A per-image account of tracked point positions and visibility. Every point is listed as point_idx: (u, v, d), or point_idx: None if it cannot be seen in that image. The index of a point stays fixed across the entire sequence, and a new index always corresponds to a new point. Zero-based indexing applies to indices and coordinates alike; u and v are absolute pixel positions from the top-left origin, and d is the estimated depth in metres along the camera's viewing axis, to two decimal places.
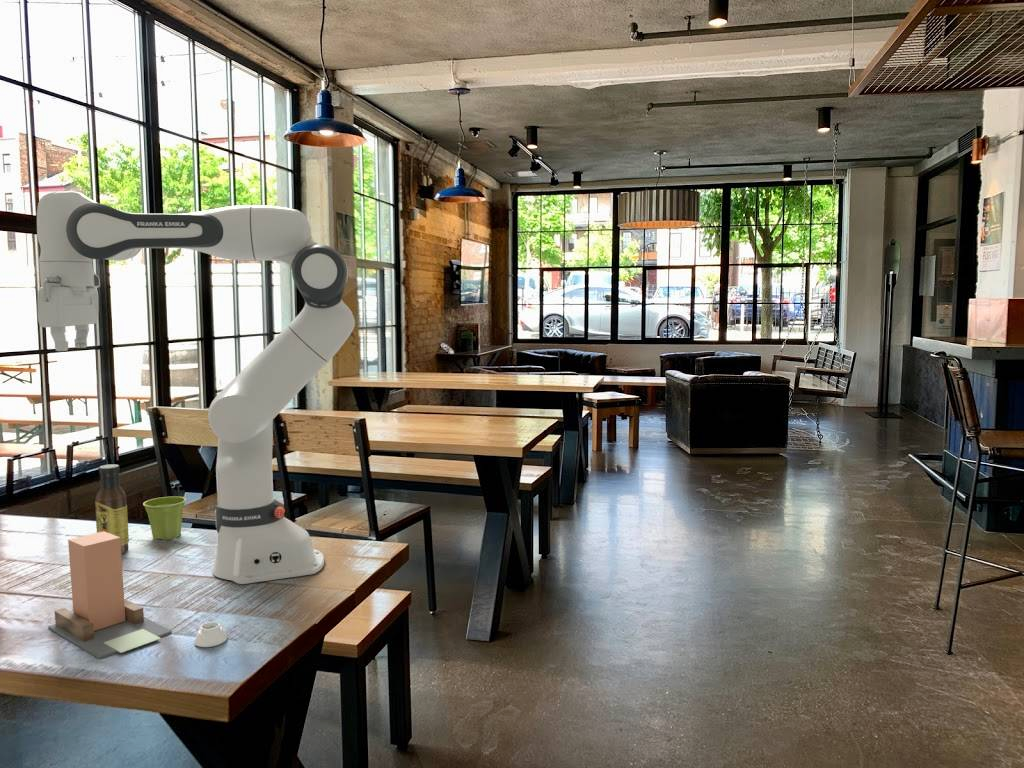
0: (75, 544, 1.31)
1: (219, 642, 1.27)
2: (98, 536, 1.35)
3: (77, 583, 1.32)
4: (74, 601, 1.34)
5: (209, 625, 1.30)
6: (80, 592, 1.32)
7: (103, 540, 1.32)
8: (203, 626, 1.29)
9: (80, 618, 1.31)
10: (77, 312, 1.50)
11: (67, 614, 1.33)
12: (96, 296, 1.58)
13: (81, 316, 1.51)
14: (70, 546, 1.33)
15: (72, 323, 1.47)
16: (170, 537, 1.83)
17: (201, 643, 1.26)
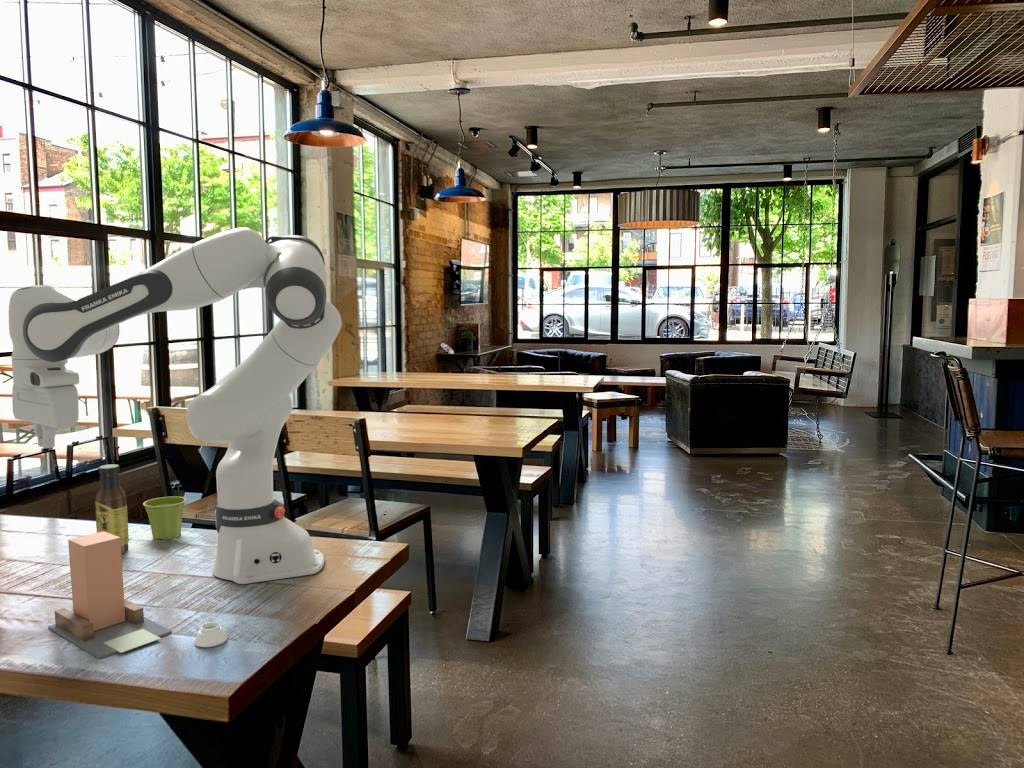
0: (75, 544, 1.31)
1: (219, 642, 1.27)
2: (98, 536, 1.35)
3: (77, 583, 1.32)
4: (74, 601, 1.34)
5: (209, 625, 1.30)
6: (80, 592, 1.32)
7: (103, 540, 1.32)
8: (203, 626, 1.29)
9: (80, 618, 1.31)
10: (31, 410, 1.43)
11: (67, 614, 1.33)
12: (47, 397, 1.37)
13: (35, 415, 1.42)
14: (70, 546, 1.33)
15: (26, 420, 1.45)
16: (170, 537, 1.83)
17: (201, 643, 1.26)
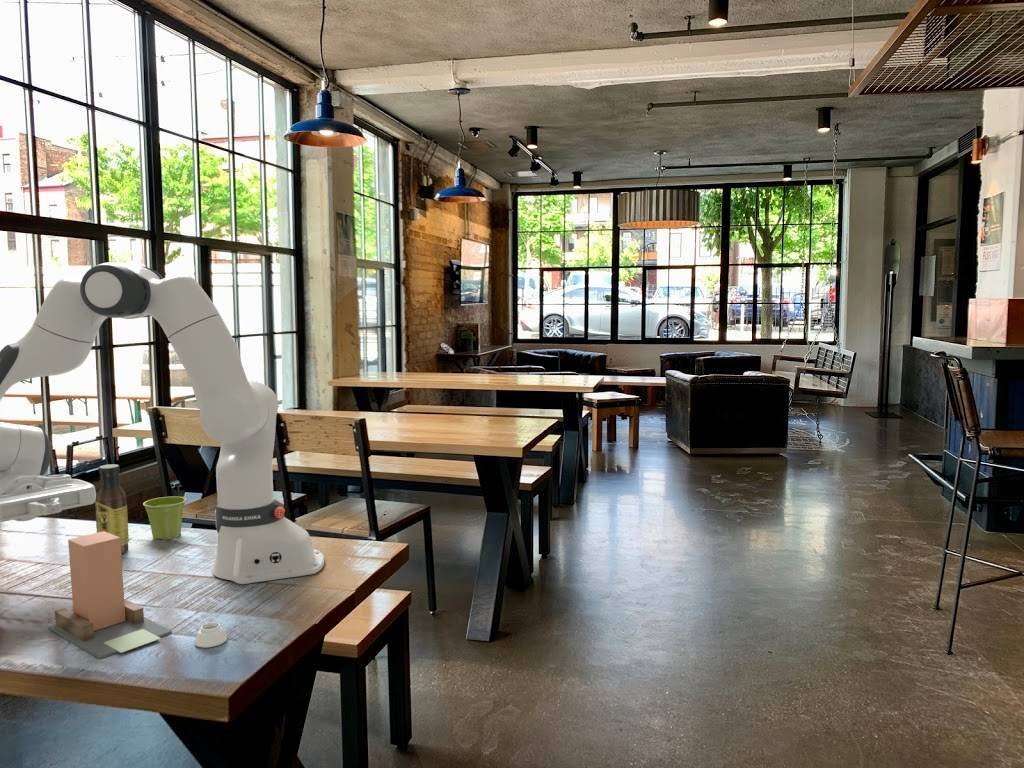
0: (75, 544, 1.31)
1: (219, 642, 1.27)
2: (98, 536, 1.35)
3: (77, 583, 1.32)
4: (74, 601, 1.34)
5: (209, 625, 1.29)
6: (80, 592, 1.32)
7: (103, 540, 1.32)
8: (203, 626, 1.29)
9: (80, 618, 1.31)
10: (31, 494, 1.47)
11: (67, 614, 1.33)
12: (74, 480, 1.55)
13: (42, 493, 1.47)
14: (70, 546, 1.33)
15: (20, 499, 1.43)
16: (170, 537, 1.83)
17: (201, 643, 1.26)
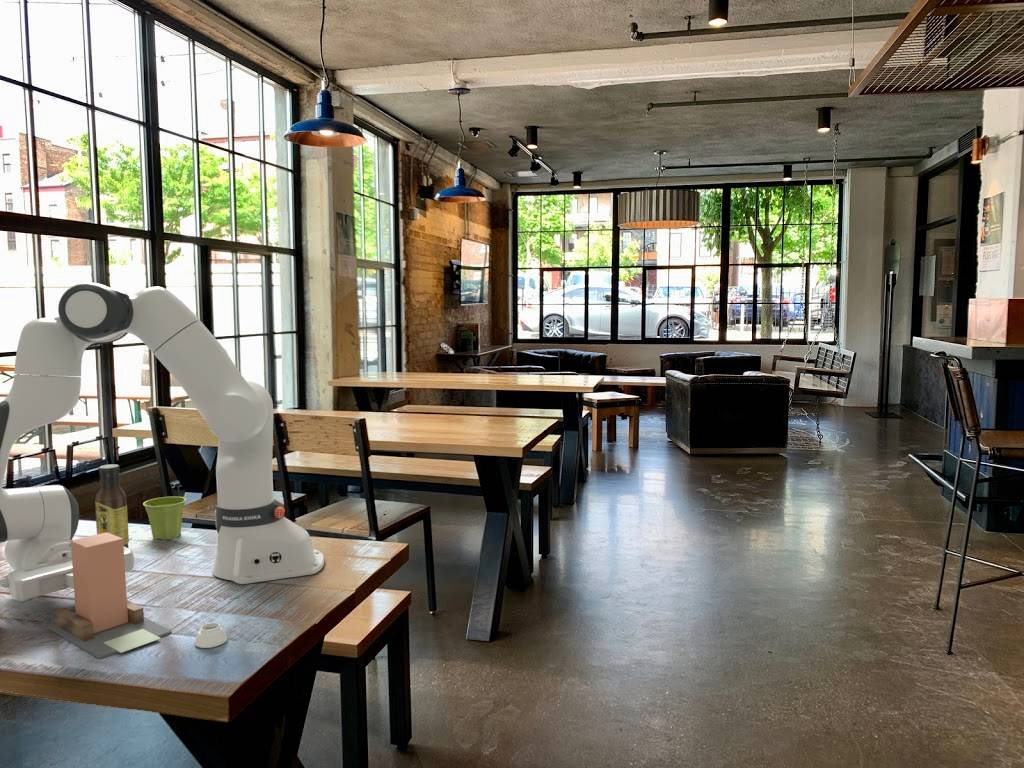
0: (77, 545, 1.31)
1: (219, 643, 1.27)
2: (101, 537, 1.34)
3: (79, 584, 1.32)
4: (77, 602, 1.33)
5: (209, 626, 1.29)
6: (82, 593, 1.31)
7: (106, 541, 1.32)
8: (203, 627, 1.28)
9: (80, 618, 1.31)
10: (68, 564, 1.39)
11: (67, 614, 1.33)
12: None
13: None
14: (73, 547, 1.32)
15: (58, 571, 1.36)
16: (170, 537, 1.83)
17: (201, 644, 1.26)
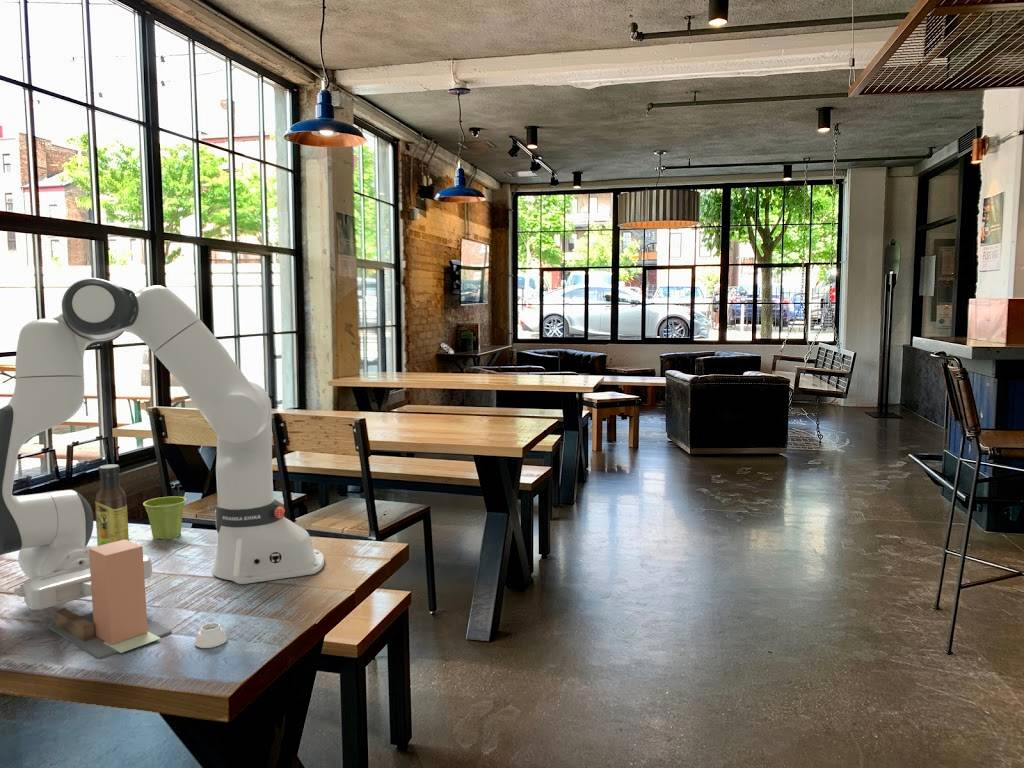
0: (96, 553, 1.27)
1: (219, 643, 1.27)
2: (119, 544, 1.30)
3: (98, 594, 1.28)
4: (95, 612, 1.29)
5: (209, 626, 1.29)
6: (101, 603, 1.27)
7: (125, 549, 1.28)
8: (203, 627, 1.28)
9: (80, 618, 1.31)
10: (85, 572, 1.35)
11: (67, 614, 1.33)
12: None
13: None
14: (91, 555, 1.28)
15: (75, 579, 1.32)
16: (170, 537, 1.83)
17: (201, 644, 1.26)
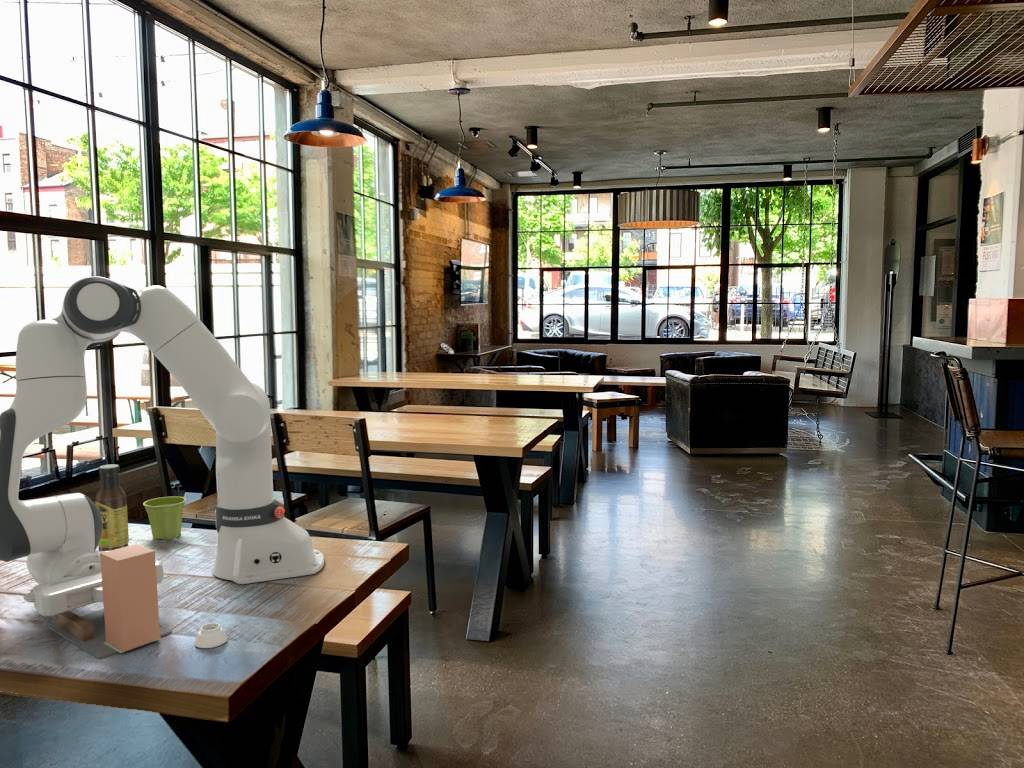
0: (108, 558, 1.24)
1: (219, 643, 1.27)
2: (131, 549, 1.27)
3: (109, 599, 1.25)
4: (106, 618, 1.26)
5: (209, 626, 1.29)
6: (113, 609, 1.25)
7: (137, 554, 1.25)
8: (203, 627, 1.28)
9: (80, 618, 1.31)
10: (96, 577, 1.33)
11: (67, 614, 1.33)
12: None
13: None
14: (102, 560, 1.25)
15: (86, 584, 1.29)
16: (170, 537, 1.83)
17: (201, 644, 1.26)
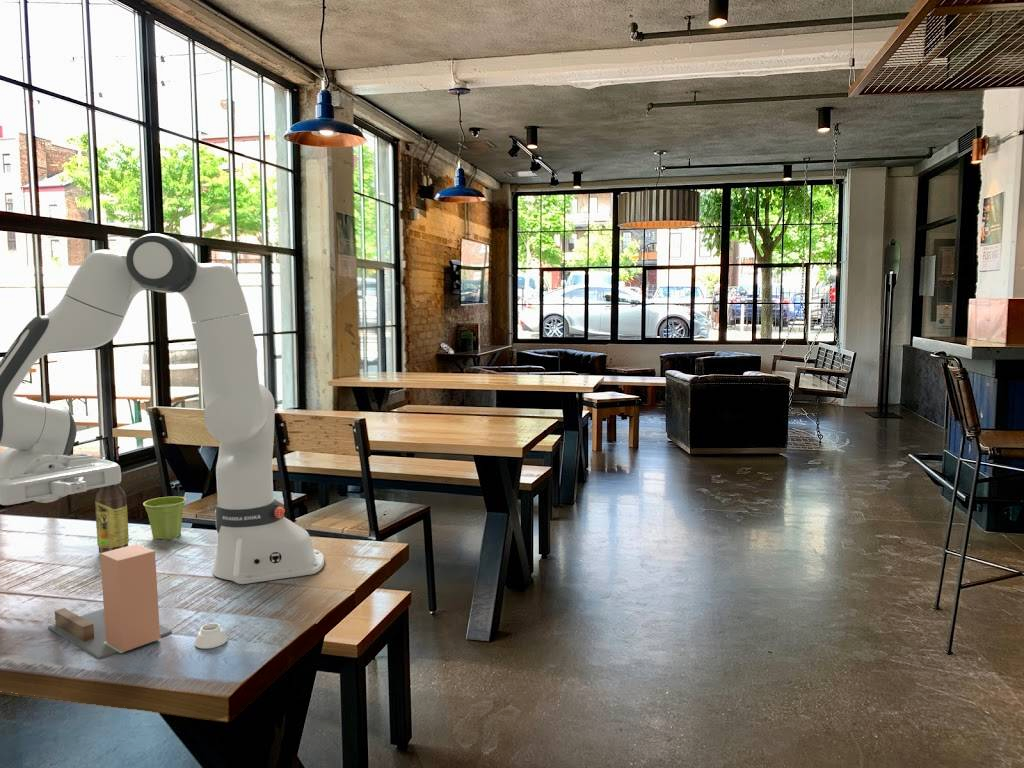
0: (108, 558, 1.24)
1: (219, 643, 1.27)
2: (131, 549, 1.27)
3: (109, 599, 1.25)
4: (106, 618, 1.26)
5: (209, 626, 1.29)
6: (113, 609, 1.25)
7: (137, 554, 1.25)
8: (203, 627, 1.28)
9: (80, 618, 1.31)
10: (55, 473, 1.39)
11: (67, 614, 1.33)
12: (98, 460, 1.48)
13: (66, 472, 1.40)
14: (102, 560, 1.25)
15: (44, 478, 1.36)
16: (170, 537, 1.83)
17: (201, 644, 1.26)
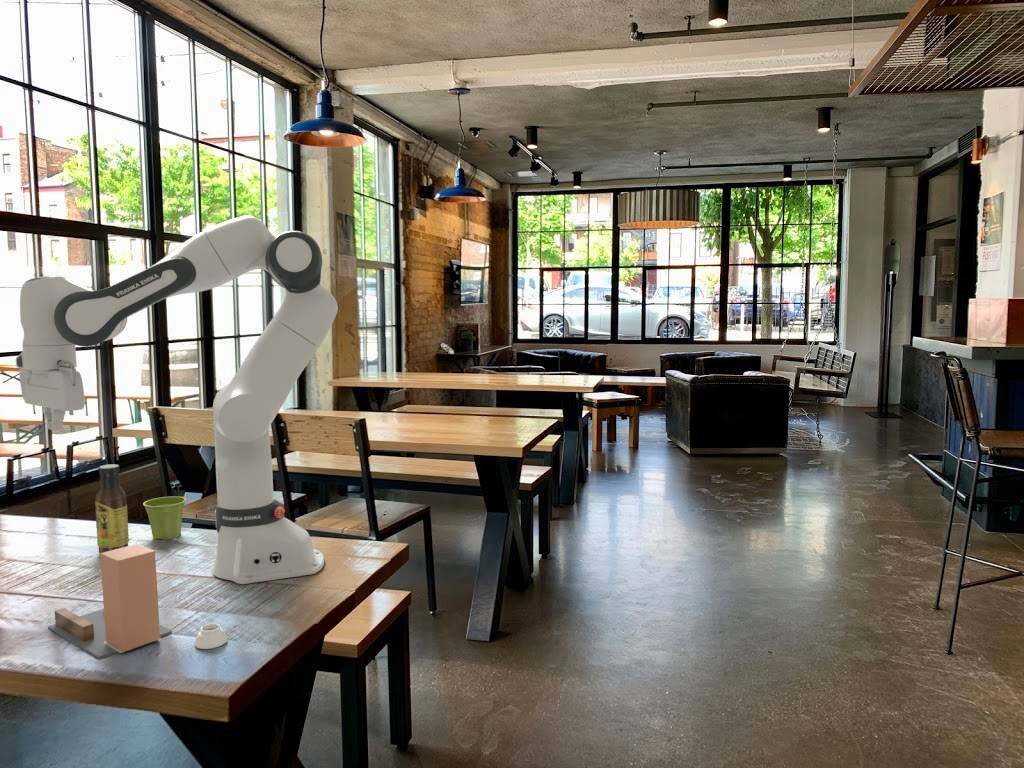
0: (108, 558, 1.24)
1: (219, 644, 1.26)
2: (131, 549, 1.27)
3: (109, 599, 1.25)
4: (106, 618, 1.26)
5: (209, 627, 1.29)
6: (113, 609, 1.25)
7: (137, 554, 1.25)
8: (203, 628, 1.28)
9: (80, 618, 1.31)
10: None
11: (67, 614, 1.33)
12: None
13: None
14: (102, 560, 1.25)
15: None
16: (170, 537, 1.83)
17: (201, 645, 1.26)
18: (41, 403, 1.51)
